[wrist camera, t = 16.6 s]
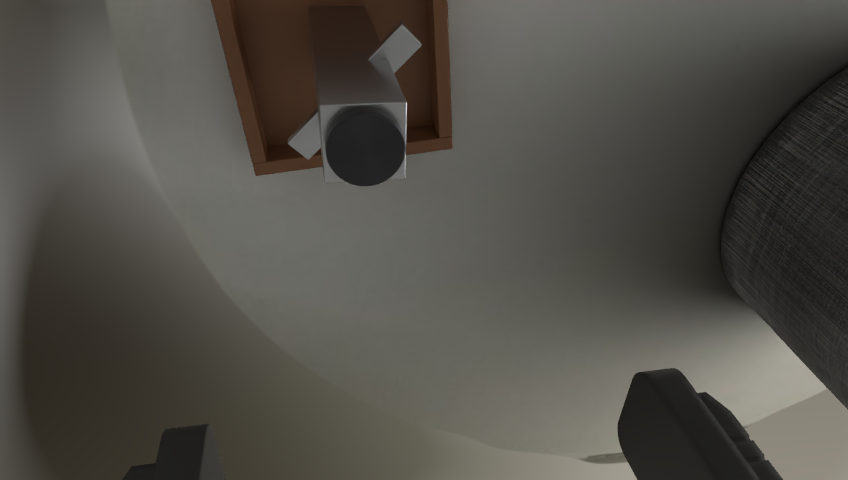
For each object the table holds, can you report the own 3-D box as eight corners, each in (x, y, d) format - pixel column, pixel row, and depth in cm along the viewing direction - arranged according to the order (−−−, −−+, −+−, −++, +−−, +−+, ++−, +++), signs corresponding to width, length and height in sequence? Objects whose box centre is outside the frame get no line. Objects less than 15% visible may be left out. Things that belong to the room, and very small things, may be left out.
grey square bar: (289, 87, 34) (289, 226, 22) (278, -22, 30) (272, 72, 18) (390, 84, 35) (443, 216, 23) (390, -22, 31) (452, 67, 19)
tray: (194, -99, 28) (186, -94, 26) (433, -120, 30) (443, -116, 28) (257, 157, 36) (255, 176, 34) (444, 131, 37) (452, 149, 35)
